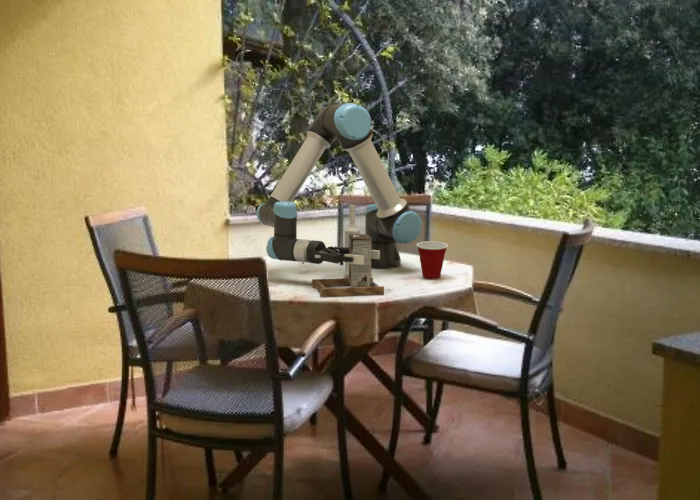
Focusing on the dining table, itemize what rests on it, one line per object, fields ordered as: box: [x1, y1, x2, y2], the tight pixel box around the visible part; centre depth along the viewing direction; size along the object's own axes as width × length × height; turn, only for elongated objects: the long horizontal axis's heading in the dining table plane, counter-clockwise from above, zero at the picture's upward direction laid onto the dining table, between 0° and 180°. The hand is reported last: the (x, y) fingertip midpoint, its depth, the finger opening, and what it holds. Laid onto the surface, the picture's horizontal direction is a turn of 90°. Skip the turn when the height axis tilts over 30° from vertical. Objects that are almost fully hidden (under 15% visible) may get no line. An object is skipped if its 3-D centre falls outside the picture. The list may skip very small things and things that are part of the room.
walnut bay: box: [311, 276, 385, 298], centre depth 252 cm, size 20×15×2 cm
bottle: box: [343, 204, 361, 278], centre depth 271 cm, size 5×5×25 cm
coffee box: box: [349, 233, 372, 287], centre depth 252 cm, size 9×6×16 cm
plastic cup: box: [415, 240, 449, 280], centre depth 273 cm, size 11×11×12 cm
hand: (371, 257), depth 250 cm, fingers closed on coffee box, 10 cm apart
